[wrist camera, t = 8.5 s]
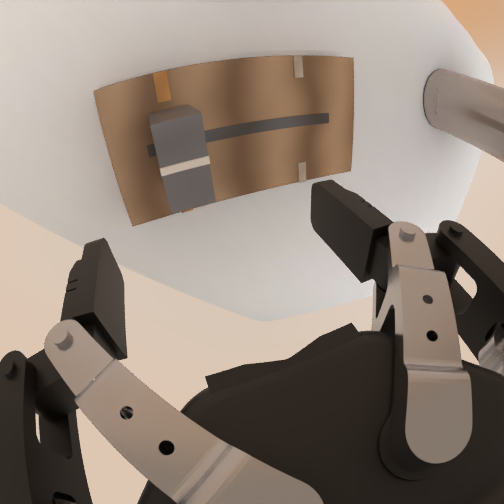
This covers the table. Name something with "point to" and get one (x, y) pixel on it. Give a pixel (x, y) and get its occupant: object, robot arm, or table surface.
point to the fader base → (234, 125)
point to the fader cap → (183, 157)
